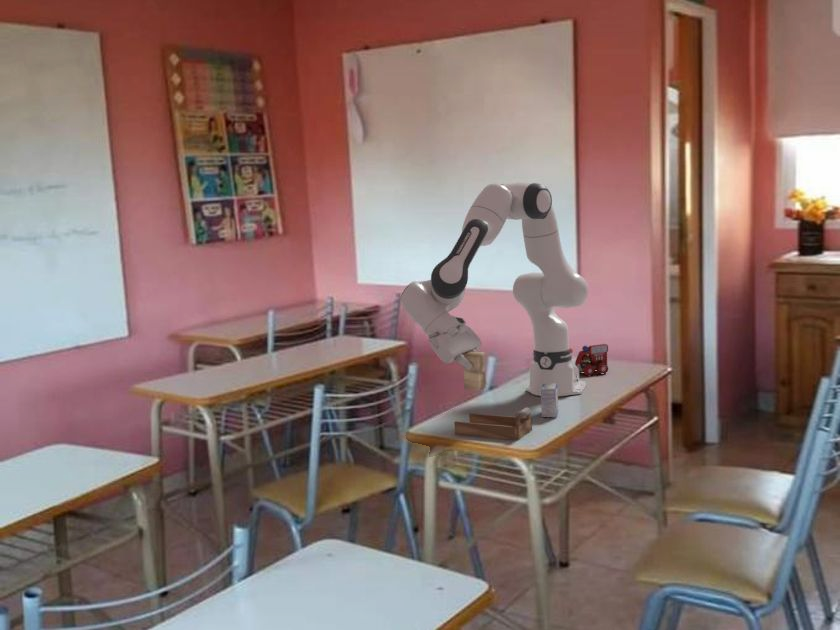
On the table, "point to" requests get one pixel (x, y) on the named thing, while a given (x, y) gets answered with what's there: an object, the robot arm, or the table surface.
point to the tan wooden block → (475, 372)
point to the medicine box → (549, 400)
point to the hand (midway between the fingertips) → (476, 366)
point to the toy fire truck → (592, 359)
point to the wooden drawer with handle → (496, 425)
